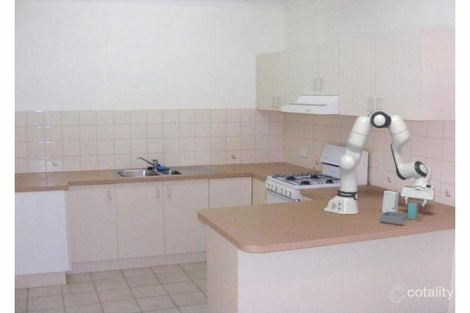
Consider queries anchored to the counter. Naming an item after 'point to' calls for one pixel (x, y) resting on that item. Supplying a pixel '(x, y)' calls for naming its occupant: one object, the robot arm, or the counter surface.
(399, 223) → the bin
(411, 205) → the strut
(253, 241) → the counter surface
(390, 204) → the skincare box
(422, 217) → the brown wooden lid
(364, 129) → the robot arm
